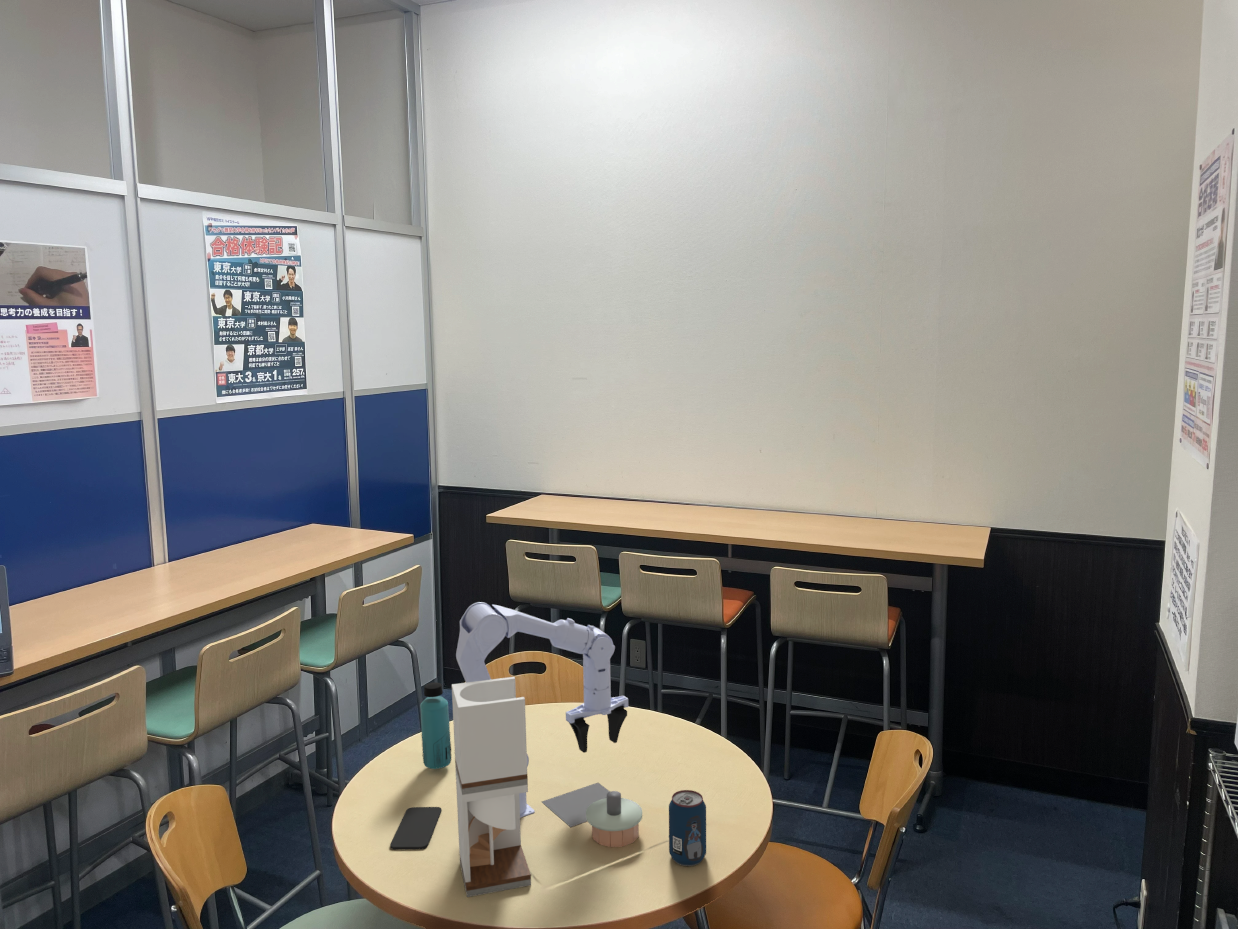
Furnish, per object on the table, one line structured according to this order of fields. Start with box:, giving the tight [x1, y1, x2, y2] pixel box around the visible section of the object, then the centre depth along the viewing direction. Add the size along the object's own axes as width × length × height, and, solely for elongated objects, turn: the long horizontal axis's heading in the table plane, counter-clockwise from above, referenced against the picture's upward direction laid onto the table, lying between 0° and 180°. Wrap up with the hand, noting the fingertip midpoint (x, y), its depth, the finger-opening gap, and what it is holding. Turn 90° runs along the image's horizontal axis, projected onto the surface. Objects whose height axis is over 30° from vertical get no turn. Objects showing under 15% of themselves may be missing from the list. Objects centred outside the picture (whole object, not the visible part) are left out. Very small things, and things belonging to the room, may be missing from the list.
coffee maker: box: [451, 676, 532, 898], centre depth 163 cm, size 11×11×35 cm
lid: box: [586, 790, 643, 831], centre depth 177 cm, size 11×11×4 cm
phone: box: [389, 806, 442, 851], centre depth 181 cm, size 7×1×15 cm
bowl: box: [591, 822, 640, 848], centre depth 177 cm, size 9×9×4 cm
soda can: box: [668, 789, 707, 867], centre depth 169 cm, size 7×7×12 cm
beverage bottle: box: [419, 681, 452, 770], centre depth 204 cm, size 6×7×20 cm
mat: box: [541, 782, 611, 828], centre depth 189 cm, size 14×12×1 cm
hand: (598, 746), depth 194 cm, fingers open, 7 cm apart
